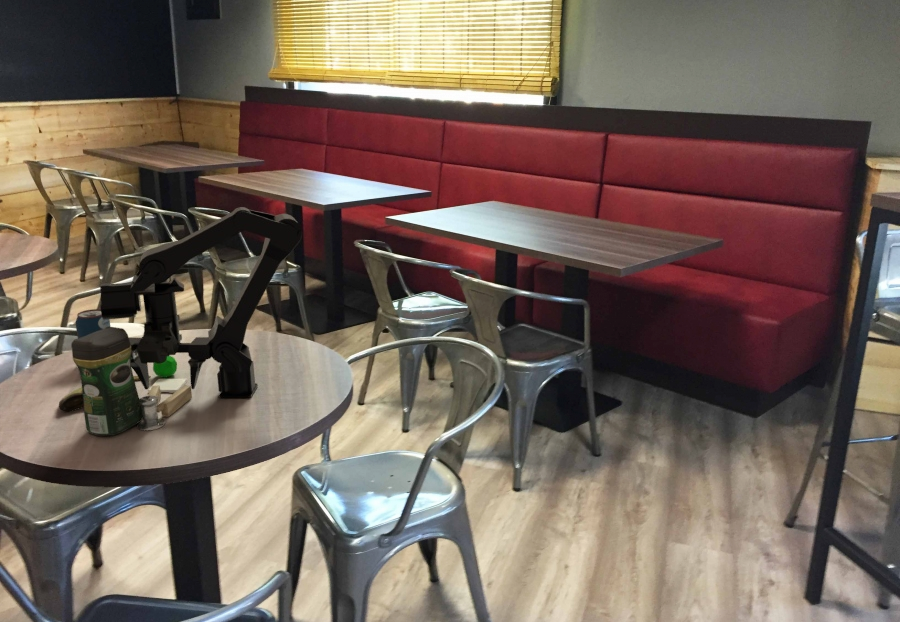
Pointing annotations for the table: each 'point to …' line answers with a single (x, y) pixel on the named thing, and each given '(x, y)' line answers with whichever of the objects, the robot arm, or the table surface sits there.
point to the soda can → (90, 322)
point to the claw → (76, 399)
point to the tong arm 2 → (175, 401)
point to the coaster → (169, 384)
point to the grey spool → (149, 414)
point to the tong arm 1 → (155, 392)
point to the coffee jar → (107, 381)
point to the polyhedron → (165, 367)
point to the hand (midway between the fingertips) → (170, 388)
